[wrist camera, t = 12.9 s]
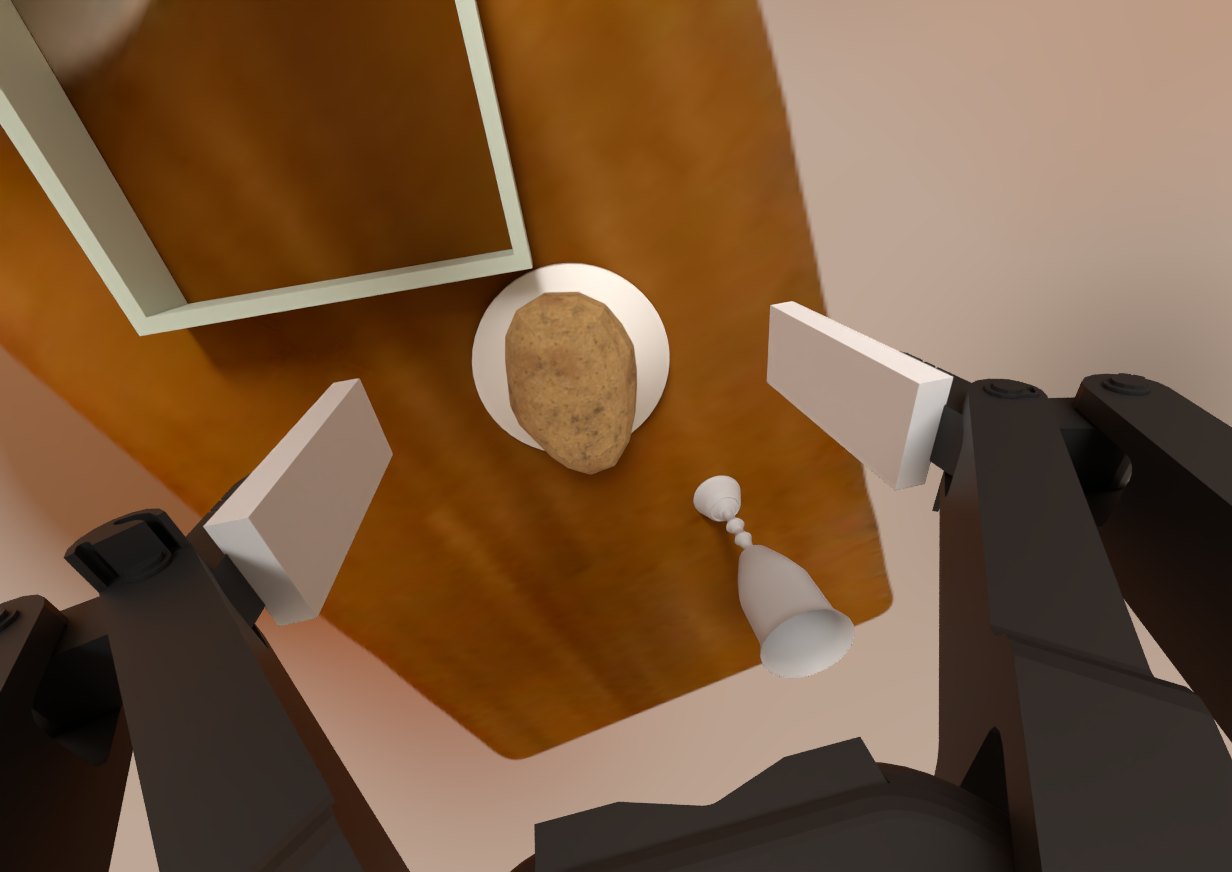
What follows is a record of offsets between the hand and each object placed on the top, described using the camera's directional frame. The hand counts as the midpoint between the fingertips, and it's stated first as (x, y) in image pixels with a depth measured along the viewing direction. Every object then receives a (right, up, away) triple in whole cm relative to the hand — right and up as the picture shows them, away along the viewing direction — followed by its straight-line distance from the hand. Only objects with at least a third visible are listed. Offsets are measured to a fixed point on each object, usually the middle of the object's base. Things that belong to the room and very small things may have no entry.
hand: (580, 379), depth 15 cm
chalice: (+12, -8, +33) cm, 36 cm away
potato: (-3, +4, +23) cm, 23 cm away
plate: (-2, +4, +24) cm, 24 cm away
